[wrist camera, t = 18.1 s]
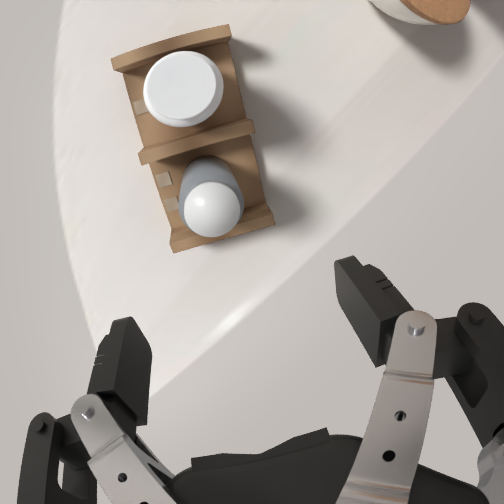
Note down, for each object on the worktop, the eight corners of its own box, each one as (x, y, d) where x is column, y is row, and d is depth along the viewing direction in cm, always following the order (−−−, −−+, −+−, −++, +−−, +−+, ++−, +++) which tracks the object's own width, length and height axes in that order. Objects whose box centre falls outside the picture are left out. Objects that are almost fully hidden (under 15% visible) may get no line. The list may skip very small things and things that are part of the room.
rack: (223, 34, 21) (228, 24, 18) (265, 208, 30) (275, 224, 26) (122, 63, 21) (110, 58, 17) (175, 233, 29) (173, 253, 26)
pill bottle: (207, 127, 24) (213, 141, 17) (147, 115, 23) (124, 124, 15) (225, 69, 22) (240, 55, 14) (164, 56, 21) (149, 36, 13)
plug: (237, 195, 28) (252, 232, 21) (190, 208, 27) (189, 250, 21) (225, 149, 25) (237, 170, 18) (176, 163, 25) (168, 190, 18)
